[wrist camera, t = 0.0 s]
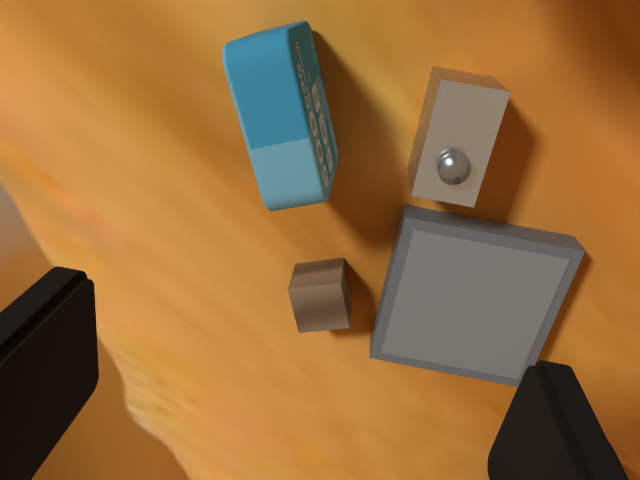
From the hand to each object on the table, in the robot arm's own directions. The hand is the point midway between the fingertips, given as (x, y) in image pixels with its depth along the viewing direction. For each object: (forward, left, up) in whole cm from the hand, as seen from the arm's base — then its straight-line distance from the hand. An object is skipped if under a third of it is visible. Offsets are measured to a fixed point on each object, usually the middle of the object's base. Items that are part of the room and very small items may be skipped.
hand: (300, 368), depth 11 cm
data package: (+2, -5, -37) cm, 37 cm away
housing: (+2, +8, -37) cm, 38 cm away
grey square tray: (+18, +14, -37) cm, 43 cm away
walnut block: (+20, 0, -37) cm, 42 cm away
